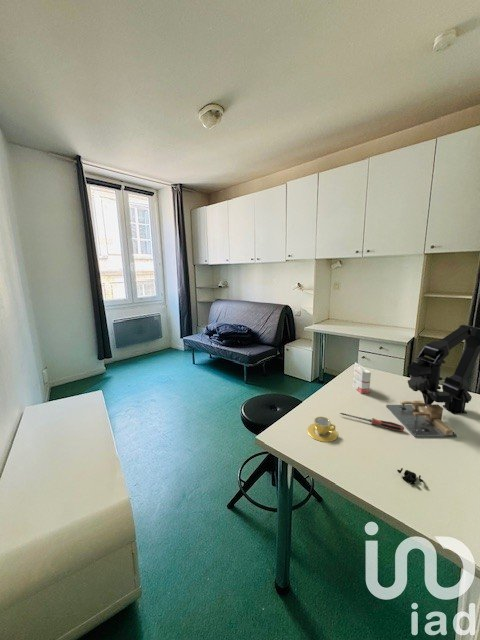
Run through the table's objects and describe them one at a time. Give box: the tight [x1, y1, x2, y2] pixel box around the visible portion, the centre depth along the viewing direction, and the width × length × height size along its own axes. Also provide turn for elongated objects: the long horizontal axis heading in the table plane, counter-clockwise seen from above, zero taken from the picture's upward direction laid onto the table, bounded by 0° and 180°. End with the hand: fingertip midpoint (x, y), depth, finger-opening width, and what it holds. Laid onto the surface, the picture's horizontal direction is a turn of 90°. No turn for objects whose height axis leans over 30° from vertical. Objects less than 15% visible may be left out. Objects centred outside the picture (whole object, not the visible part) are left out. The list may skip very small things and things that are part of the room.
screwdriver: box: [339, 412, 405, 432], centre depth 110 cm, size 25×3×3 cm, turn 60°
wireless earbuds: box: [396, 467, 424, 485], centre depth 82 cm, size 7×2×5 cm
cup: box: [306, 416, 339, 443], centre depth 105 cm, size 12×12×5 cm
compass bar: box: [399, 400, 454, 435], centre depth 111 cm, size 10×22×3 cm, turn 177°
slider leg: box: [413, 403, 444, 422], centre depth 109 cm, size 10×3×6 cm, turn 87°
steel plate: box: [385, 404, 458, 438], centre depth 111 cm, size 16×22×1 cm
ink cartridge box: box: [352, 362, 372, 394], centre depth 138 cm, size 9×5×15 cm, turn 6°
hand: (427, 406), depth 113 cm, fingers closed
